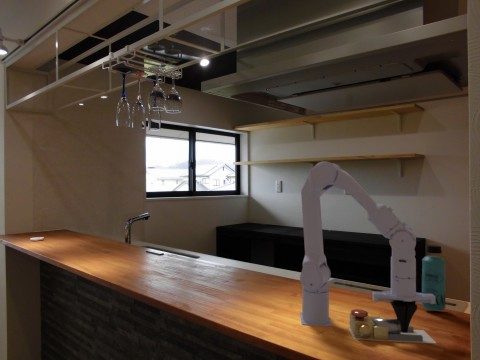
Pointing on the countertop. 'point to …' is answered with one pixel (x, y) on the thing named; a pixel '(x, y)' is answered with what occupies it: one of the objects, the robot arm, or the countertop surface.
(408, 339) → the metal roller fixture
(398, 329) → the metal cylinder
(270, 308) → the countertop surface
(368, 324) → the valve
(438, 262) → the beverage bottle
